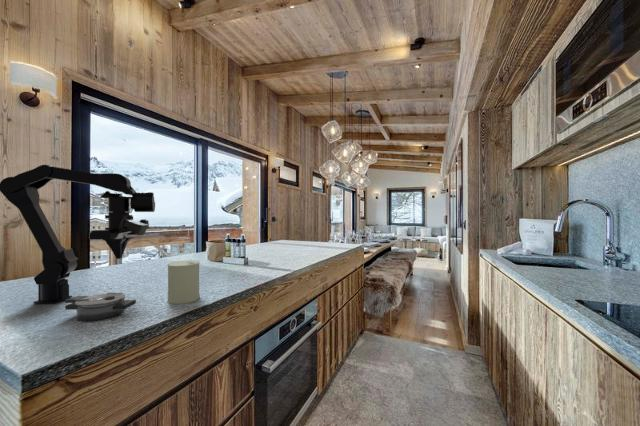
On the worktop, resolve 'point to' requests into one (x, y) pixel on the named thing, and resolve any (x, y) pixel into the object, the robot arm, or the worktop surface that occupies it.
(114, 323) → the worktop surface
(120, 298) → the lid
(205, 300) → the worktop surface
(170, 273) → the can
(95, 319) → the pot
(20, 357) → the worktop surface
